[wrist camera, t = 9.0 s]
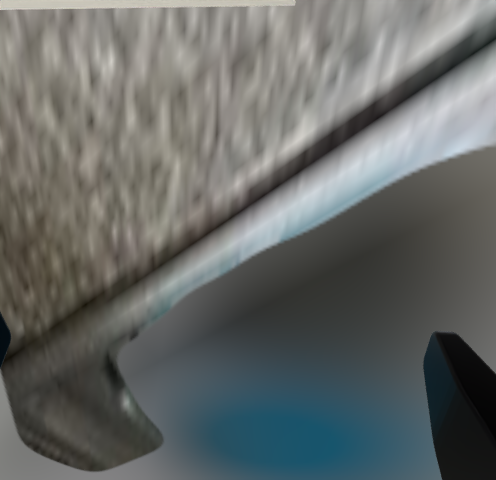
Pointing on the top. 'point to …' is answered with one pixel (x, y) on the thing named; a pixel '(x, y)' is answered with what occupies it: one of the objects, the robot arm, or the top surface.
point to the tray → (134, 3)
